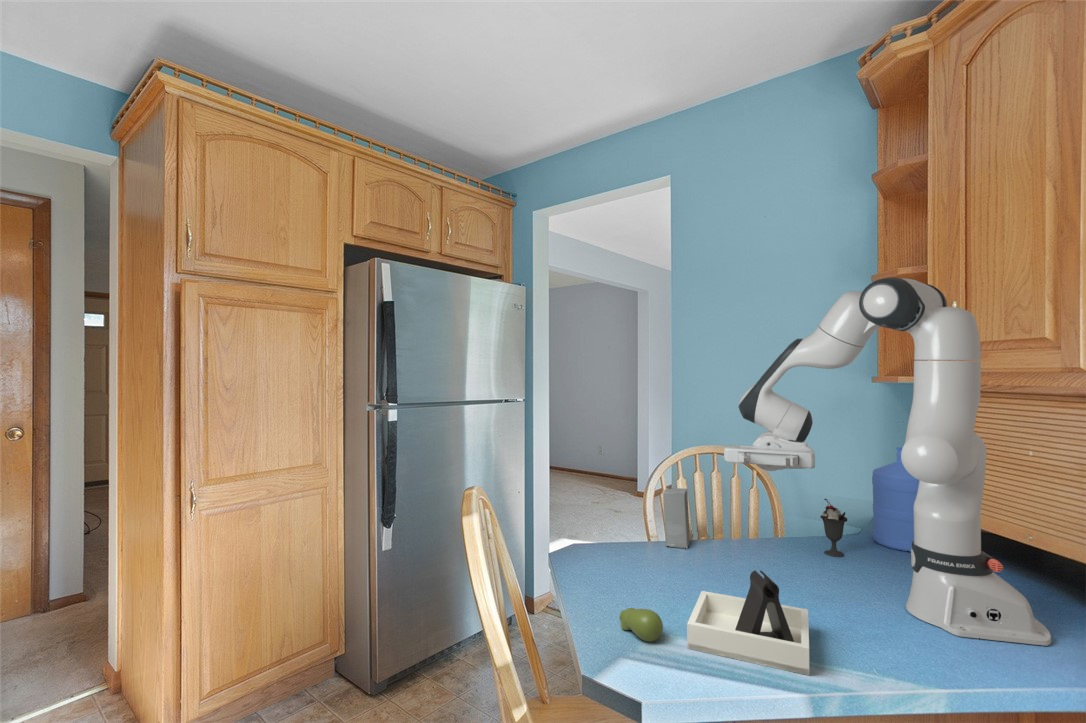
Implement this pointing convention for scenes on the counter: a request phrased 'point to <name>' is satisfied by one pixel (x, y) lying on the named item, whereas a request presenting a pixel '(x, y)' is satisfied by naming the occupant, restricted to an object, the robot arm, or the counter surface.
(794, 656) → the tray
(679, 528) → the skincare box
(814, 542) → the counter surface
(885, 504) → the water jug
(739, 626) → the phone stand
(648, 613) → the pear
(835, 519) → the sundae
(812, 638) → the counter surface
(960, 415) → the robot arm
